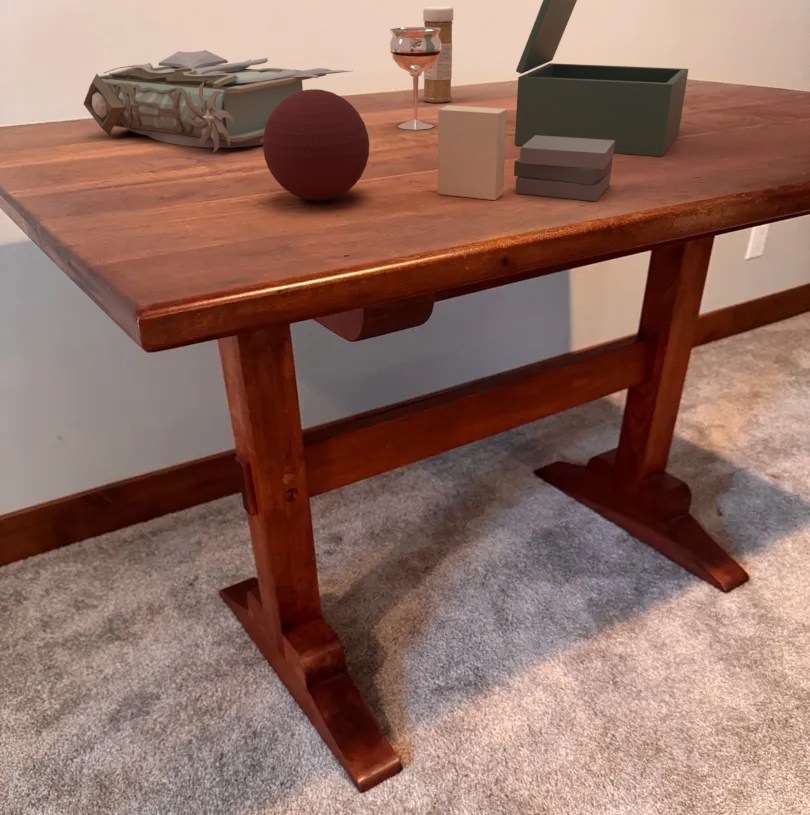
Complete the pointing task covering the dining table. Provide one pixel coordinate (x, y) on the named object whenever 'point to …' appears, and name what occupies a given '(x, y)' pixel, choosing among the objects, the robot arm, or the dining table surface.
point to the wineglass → (415, 59)
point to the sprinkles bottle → (441, 70)
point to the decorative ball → (316, 145)
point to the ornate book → (195, 99)
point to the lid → (546, 34)
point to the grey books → (564, 167)
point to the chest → (602, 105)
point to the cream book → (471, 151)
